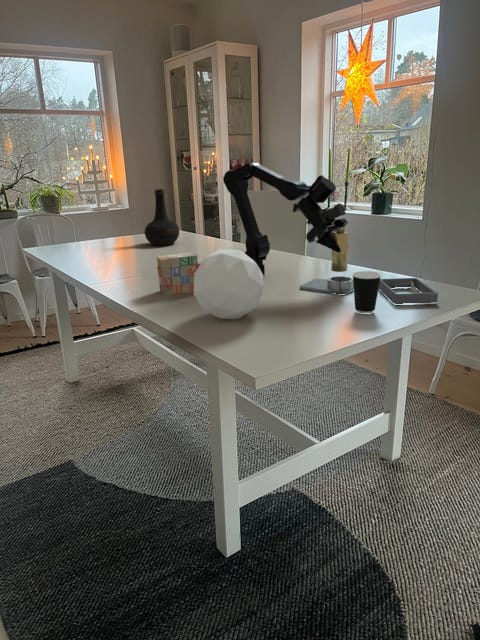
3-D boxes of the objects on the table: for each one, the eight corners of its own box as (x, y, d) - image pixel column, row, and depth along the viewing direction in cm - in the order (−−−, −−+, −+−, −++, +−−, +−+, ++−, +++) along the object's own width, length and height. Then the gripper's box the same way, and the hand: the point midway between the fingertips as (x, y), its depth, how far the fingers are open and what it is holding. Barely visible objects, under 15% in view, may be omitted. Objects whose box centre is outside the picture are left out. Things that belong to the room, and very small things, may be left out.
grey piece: (299, 289, 161) (299, 278, 160) (315, 281, 170) (315, 271, 169) (344, 295, 152) (344, 284, 151) (359, 286, 162) (359, 276, 160)
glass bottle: (141, 247, 247) (135, 191, 237) (152, 241, 263) (147, 188, 254) (174, 247, 244) (170, 190, 235) (184, 241, 260) (180, 187, 251)
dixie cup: (344, 312, 136) (346, 274, 133) (360, 306, 141) (362, 269, 138) (369, 318, 131) (371, 279, 127) (384, 311, 136) (387, 273, 132)
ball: (215, 343, 136) (167, 292, 129) (238, 300, 150) (196, 252, 143) (265, 321, 124) (215, 263, 117) (285, 277, 138) (242, 223, 131)
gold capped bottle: (336, 272, 153) (338, 229, 148) (328, 269, 157) (329, 227, 153) (350, 270, 155) (352, 228, 150) (341, 267, 159) (342, 226, 155)
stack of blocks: (218, 283, 173) (216, 249, 169) (224, 287, 167) (222, 252, 163) (159, 291, 165) (156, 255, 161) (163, 295, 160) (160, 259, 156)
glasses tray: (394, 305, 140) (395, 294, 139) (378, 289, 158) (378, 279, 156) (436, 304, 140) (438, 293, 139) (415, 288, 157) (416, 277, 156)
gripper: (315, 198, 144) (348, 238, 141) (343, 193, 158) (373, 229, 155) (292, 223, 151) (323, 261, 148) (321, 216, 165) (349, 251, 162)
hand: (343, 250), depth 153 cm, fingers closed on gold capped bottle, 5 cm apart
